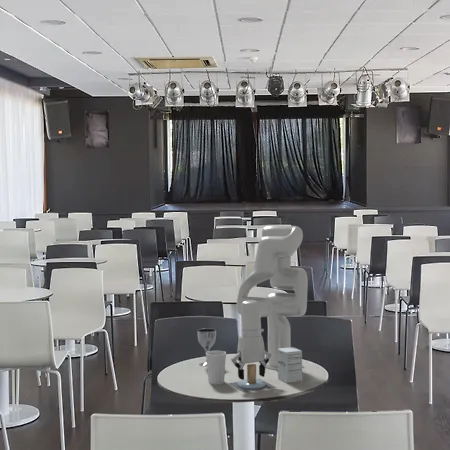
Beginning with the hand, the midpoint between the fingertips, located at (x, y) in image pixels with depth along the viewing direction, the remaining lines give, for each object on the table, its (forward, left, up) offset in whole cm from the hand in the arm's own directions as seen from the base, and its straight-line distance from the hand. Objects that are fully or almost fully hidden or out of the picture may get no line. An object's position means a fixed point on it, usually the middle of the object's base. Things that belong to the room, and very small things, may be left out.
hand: (251, 377), depth 301 cm
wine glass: (+1, -40, -4) cm, 40 cm away
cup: (+10, -11, -4) cm, 15 cm away
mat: (0, 0, -4) cm, 4 cm away
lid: (0, 0, -3) cm, 3 cm away
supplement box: (-17, 0, -4) cm, 17 cm away
